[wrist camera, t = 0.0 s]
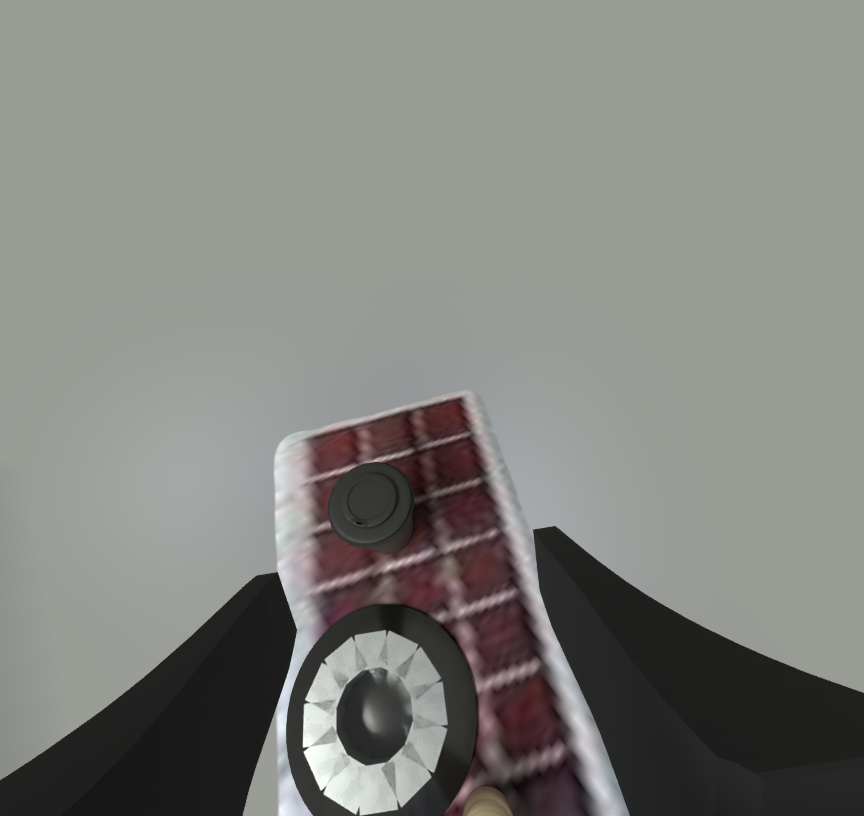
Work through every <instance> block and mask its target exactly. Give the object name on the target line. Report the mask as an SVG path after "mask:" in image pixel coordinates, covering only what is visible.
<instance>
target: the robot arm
mask: <svg viewBox="0 0 864 816" xmlns="http://www.w3.org/2000/svg"><path fill="white" fill-rule="evenodd" d="M533 533H534V542H535V551H536V561H537V570H538V579H539V588H540V593H541V596H542V599H543V602H544V605H545V608H546V611H547V614H548V617H549V620H550V623H551V625H552V628H553V630H554V632H555V635H556V637H557V639H558V641H559V643H560V645H561V648H562V650H563V652H564V654H565V656H566V659H567V661H568V663H569V665H570V667H571V669H572V671H573V674H574V676H575V678H576V680H577V682H578V684H579V687H580V689H581V691H582V693H583V695H584V697H585V700H586V702H587V704H588V706H589V708H590V710H591V713H592V715H593V717H594V720H595V722H596V724H597V727H598V729H599V732H600V734H601V737H602V739H603V742H604V745H605V748H606V750H607V753H608V756H609V759H610V761H611V764H612V767H613V769H614V772H615V775H616V778H617V780H618V783H619V786H620V789H621V791H622V794H623V797H624V800H625V803H626V806H627V808H628V811H629V814H630V816H864V693H862V692H859V691H857V690H853V689H851V688H848V687H845V686H842V685H840V684H837V683H834V682H831V681H828V680H825V679H823V678H819V677H817V676H814V675H811V674H809V673H806V672H804V671H801V670H798V669H796V668H794V667H791V666H789V665H786V664H784V663H781V662H779V661H777V660H774V659H772V658H769V657H767V656H764V655H762V654H760V653H757V652H755V651H753V650H751V649H748V648H746V647H744V646H742V645H739V644H737V643H735V642H733V641H731V640H729V639H727V638H725V637H723V636H721V635H719V634H717V633H715V632H712V631H710V630H708V629H706V628H704V627H702V626H700V625H698V624H697V623H695V622H693V621H691V620H689V619H687V618H685V617H683V616H682V615H680V614H678V613H676V612H675V611H673V610H671V609H669V608H668V607H666V606H664V605H662V604H661V603H659V602H657V601H656V600H654V599H652V598H651V597H649V596H647V595H646V594H644V593H643V592H641V591H640V590H638V589H637V588H635V587H634V586H632V585H631V584H629V583H628V582H626V581H625V580H623V579H622V578H621V577H619V576H618V575H616V574H615V573H614V572H612V571H611V570H610V569H608V568H607V567H606V566H604V565H603V564H602V563H600V562H599V561H598V560H596V559H595V558H594V557H593V556H591V555H590V554H589V553H587V552H586V551H585V550H584V549H582V548H581V547H580V546H579V545H578V544H576V543H575V542H574V541H573V540H572V539H570V538H569V537H568V536H567V535H566V534H564V533H563V532H562V531H561V530H560V529H558V528H557V527H555V526H553V527H547V528H541V529H535V530H533ZM296 633H297V629H296V626H295V623H294V620H293V617H292V614H291V611H290V608H289V605H288V602H287V599H286V596H285V593H284V590H283V587H282V584H281V581H280V578H279V575H278V572H276V573H270V574H264V575H258V576H256V577H254V578H253V579H252V580H251V581H249V582H248V583H247V584H246V585H245V586H244V587H243V588H242V589H241V590H240V591H238V592H237V593H236V594H235V595H234V596H233V597H232V598H231V599H230V600H229V601H228V602H227V603H226V604H225V605H224V606H223V607H222V608H220V610H218V611H217V612H216V613H215V614H214V615H213V616H212V617H211V618H210V619H209V620H208V621H207V622H206V623H205V624H203V625H202V626H201V627H200V628H199V629H198V630H197V631H196V632H195V633H194V634H193V635H192V636H191V637H190V638H188V639H187V640H186V641H185V642H184V643H183V644H182V645H180V646H179V647H178V648H177V649H176V650H175V651H174V652H173V653H171V654H170V655H169V656H168V657H167V658H166V659H165V660H164V661H162V662H161V663H160V664H159V665H158V666H157V667H156V668H154V669H153V670H152V671H151V672H150V673H149V674H147V675H146V676H145V677H144V678H143V679H141V680H140V681H139V682H138V683H136V684H135V685H134V686H133V687H131V688H130V689H129V690H128V691H126V692H125V693H124V694H123V695H121V696H120V697H119V698H117V699H116V700H115V701H114V702H112V703H111V704H110V705H109V706H107V707H106V708H105V709H103V710H102V711H101V712H99V713H98V714H96V715H95V716H94V717H92V718H91V719H90V720H88V721H87V722H85V723H84V724H83V725H81V726H80V727H79V728H77V729H76V730H74V731H73V732H71V733H70V734H68V735H67V736H66V737H64V738H63V739H61V740H60V741H59V742H57V743H56V744H54V745H53V746H51V747H50V748H49V749H47V750H46V751H44V752H43V753H41V754H40V755H38V756H37V757H36V758H34V759H32V760H31V761H29V762H28V763H26V764H25V765H23V766H22V767H20V768H19V769H17V770H16V771H14V772H13V773H11V774H9V775H8V776H6V777H5V778H3V779H2V780H0V816H242V815H243V811H244V807H245V803H246V799H247V795H248V792H249V788H250V785H251V781H252V778H253V775H254V771H255V768H256V765H257V762H258V759H259V756H260V753H261V750H262V747H263V744H264V742H265V739H266V735H267V733H268V730H269V727H270V724H271V721H272V718H273V715H274V712H275V709H276V707H277V704H278V701H279V698H280V695H281V692H282V689H283V686H284V683H285V680H286V677H287V673H288V670H289V666H290V662H291V657H292V653H293V648H294V643H295V638H296Z"/></svg>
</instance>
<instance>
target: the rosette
mask: <svg viewBox="0 0 864 816" xmlns="http://www.w3.org/2000/svg"><path fill="white" fill-rule="evenodd" d="M476 729H477V709H476V699H475V692H474V688H473V683H472V679H471V676H470V673H469V670H468V667H467V665H466V663H465V660H464V658H463V656H462V654H461V652H460V651H459V649H458V647H457V646H456V644H455V643H454V641H453V640H452V639H451V638H450V636H449V635H448V634H447V633H446V632H445V631H444V630H443V629H442V628H441V627H440V626H439V625H438V624H437V623H436V622H434V621H433V620H432V619H430V618H429V617H427V616H425V615H424V614H422V613H420V612H418V611H415V610H413V609H410V608H407V607H402V606H397V605H377V606H372V607H367V608H363V609H361V610H358V611H356V612H353V613H351V614H350V615H348V616H346V617H344V618H342V619H341V620H340V621H338V622H337V623H336V624H334V625H333V626H332V627H331V628H330V629H329V630H327V631H326V632H325V633H324V634H323V635H322V637H321V638H320V639H319V640H318V641H317V642H316V644H315V645H314V646H313V648H312V649H311V651H310V652H309V654H308V655H307V657H306V659H305V661H304V662H303V664H302V666H301V668H300V671H299V673H298V675H297V678H296V680H295V683H294V686H293V690H292V693H291V697H290V702H289V707H288V714H287V724H286V743H287V752H288V759H289V764H290V768H291V773H292V776H293V778H294V781H295V784H296V787H297V789H298V791H299V793H300V795H301V797H302V799H303V801H304V803H305V804H306V806H307V807H308V809H309V810H310V812H311V813H312V815H313V816H442V814H443V813H444V812H445V811H446V810H447V808H448V807H449V806H450V805H451V803H452V801H453V800H454V798H455V797H456V795H457V793H458V792H459V790H460V788H461V786H462V784H463V781H464V779H465V777H466V775H467V772H468V769H469V766H470V763H471V760H472V755H473V750H474V746H475V738H476Z"/></svg>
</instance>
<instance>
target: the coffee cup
mask: <svg viewBox="0 0 864 816" xmlns="http://www.w3.org/2000/svg"><path fill="white" fill-rule="evenodd" d="M414 504H415V503H414V491H413V488H412V486H411V484H410V481H409V479H408V478H407V477H406V476H405V475H404V474H403V472H402V471H401V470H400V469H398V468H396V467H394V466H392V465H390V464H386V463H379V462H373V463H366V464H362V465H360V466H357V467H355V468H353V469H351V470H350V471H349V472H347V473H346V474H345V475H344V476H342V477H341V478H340V480H339V481H338V483H337V484H336V485H335V487H334V488H333V490H332V493H331V496H330V499H329V502H328V517H329V520H330V523H331V527H332V529H333V530H334V531H335V533H336V534H337V535H338V537H339V538H340V539H342V540H343V541H345V542H347V543H348V544H350V545H352V546H357V547H362V548H371V549H373V550H375V551H377V552H380V553H385V554H389V553H395V552H397V551H399V550H401V549H402V548H403V547H404V546H406V545H407V544H408V542H409V540H410V538H411V536H412V532H413V522H412V512H413V508H414Z"/></svg>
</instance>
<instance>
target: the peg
mask: <svg viewBox="0 0 864 816" xmlns="http://www.w3.org/2000/svg"><path fill="white" fill-rule="evenodd" d="M463 816H513V812H512V809H511V806H510V804H509V802H508V800H507V799H506V797H505V796H504V795H503V794H502V793H501V792H500V791H499V790H497V789H496V788H493V787H490V786H482V787H479V788H477V789H475V790H474V791H473V792H472V793H471V794H470V795H469V797H468V798H467V801H466V803H465V806H464V810H463Z"/></svg>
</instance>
